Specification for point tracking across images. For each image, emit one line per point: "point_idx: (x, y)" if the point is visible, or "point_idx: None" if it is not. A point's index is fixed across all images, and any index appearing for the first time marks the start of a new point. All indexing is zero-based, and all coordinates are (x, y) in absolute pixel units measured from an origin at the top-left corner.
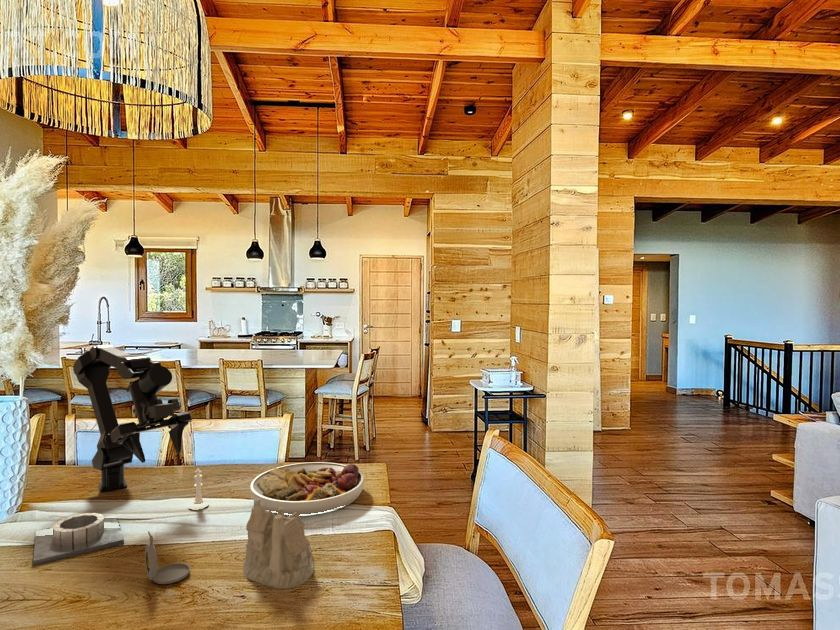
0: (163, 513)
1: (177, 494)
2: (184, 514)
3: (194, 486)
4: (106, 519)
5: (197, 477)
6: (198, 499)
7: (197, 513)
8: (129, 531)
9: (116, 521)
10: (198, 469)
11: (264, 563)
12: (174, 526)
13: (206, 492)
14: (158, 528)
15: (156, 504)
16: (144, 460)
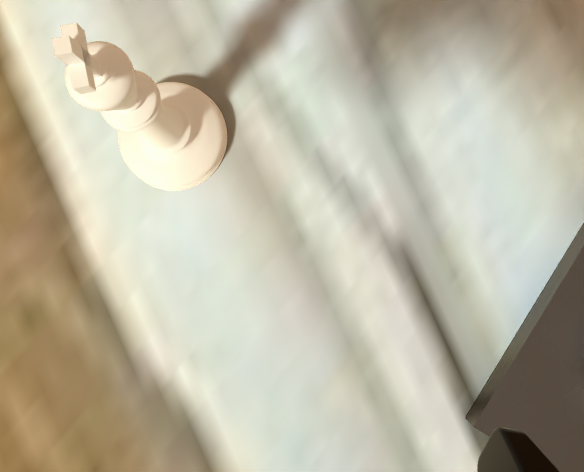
0: (320, 239)
1: (97, 388)
2: (282, 125)
3: (158, 108)
4: (547, 412)
5: (124, 56)
6: (174, 111)
7: (244, 72)
8: (545, 213)
9: (542, 337)
10: (71, 38)
11: None
12: (408, 54)
13: (5, 255)
14: (459, 109)
15: (250, 377)
16: (516, 437)
